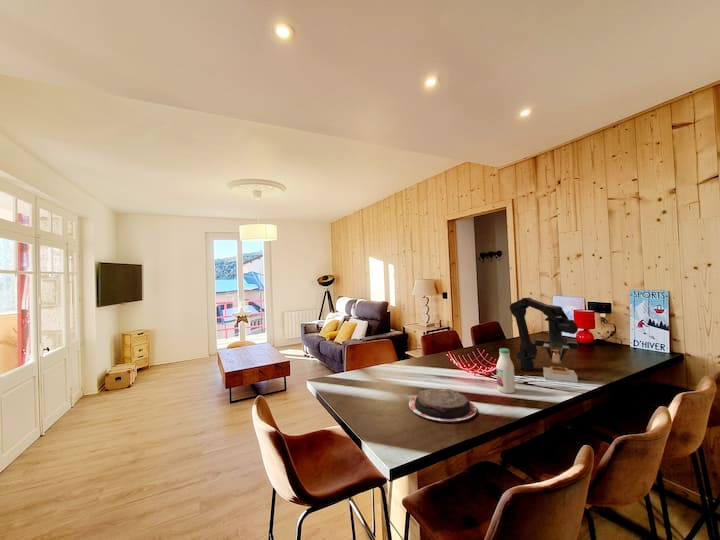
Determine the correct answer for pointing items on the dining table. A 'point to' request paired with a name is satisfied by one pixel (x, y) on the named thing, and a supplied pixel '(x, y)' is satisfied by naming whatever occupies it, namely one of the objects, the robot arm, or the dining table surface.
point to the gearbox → (560, 374)
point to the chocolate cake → (442, 405)
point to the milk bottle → (505, 372)
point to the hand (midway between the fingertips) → (556, 360)
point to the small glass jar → (556, 356)
